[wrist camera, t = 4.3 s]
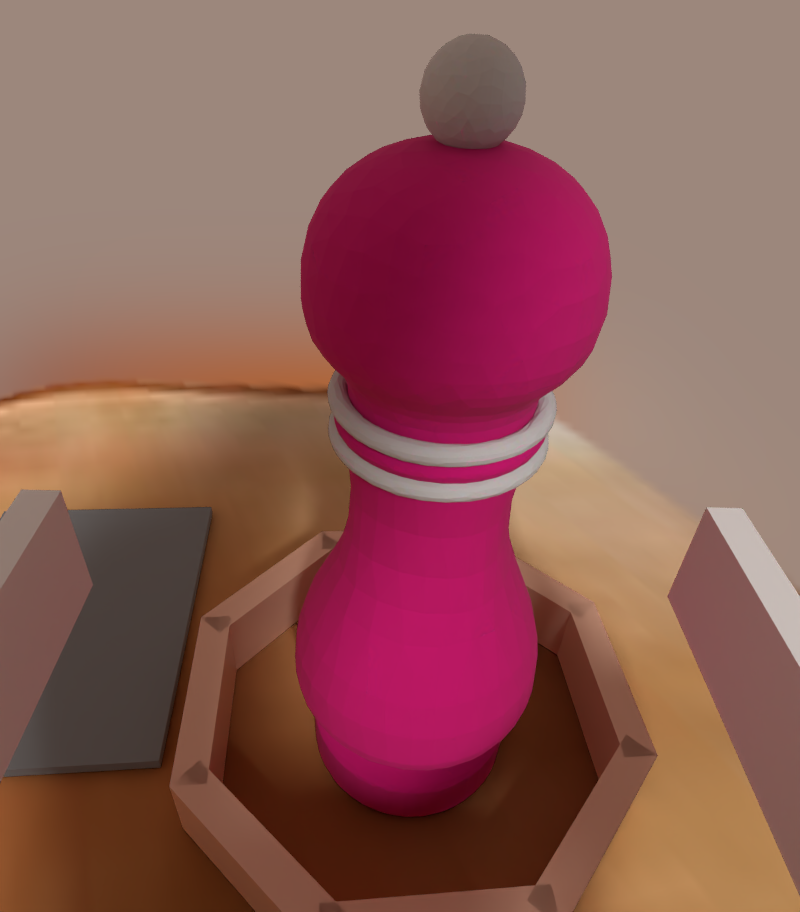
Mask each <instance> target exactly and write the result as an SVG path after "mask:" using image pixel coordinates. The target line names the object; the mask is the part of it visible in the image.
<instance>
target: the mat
mask: <svg viewBox="0 0 800 912" xmlns="http://www.w3.org/2000/svg"><path fill="white" fill-rule="evenodd" d="M5 513H6V512H4V513H3V515H2V517H3V516H4V514H5ZM68 513H69V516H70V519H71V522H72V525H73V528H74V531H75V534H76V537H77V540H78V542H79V545H80V548H81V551H82V554H83V557H84V560H85V563H86V566H87V569H88V572H89V575H90V577H91V580H92V583H93V586H92V588H91V590H90V592H89V594H88V597H87V599H86V601H85V603H84V605H83V607H82V609H81V612H80V614H79V616H78V618H77V620H76V622H75V624H74V626H73V629H72V631H71V633H70V635H69V637H68V639H67V641H66V644H65V646H64V648H63V650H62V652H61V654H60V656H59V658H58V661H57V663H56V665H55V667H54V669H53V671H52V673H51V676H50V678H49V680H48V682H47V684H46V686H45V688H44V691H43V693H42V695H41V697H40V699H39V701H38V703H37V705H36V708H35V710H34V712H33V714H32V716H31V718H30V720H29V723H28V725H27V727H26V729H25V731H24V733H23V735H22V737H21V740H20V742H19V744H18V746H17V748H16V750H15V752H14V755H13V757H12V759H11V761H10V763H9V765H8V767H7V770H6V772H5V774H4V776H3V777H10V776H26V775H43V774H59V773H76V772H93V771H109V770H126V769H142V768H159V767H161V764H162V759H163V754H164V750H165V745H166V740H167V735H168V730H169V725H170V720H171V715H172V710H173V705H174V700H175V695H176V690H177V686H178V681H179V676H180V671H181V666H182V661H183V656H184V651H185V646H186V641H187V636H188V631H189V626H190V622H191V617H192V612H193V607H194V602H195V597H196V592H197V587H198V582H199V577H200V572H201V567H202V563H203V558H204V553H205V548H206V543H207V538H208V533H209V528H210V523H211V518H212V508H211V507H192V508H145V509H99V510H68ZM2 517H1V518H0V520H1V519H2Z"/></svg>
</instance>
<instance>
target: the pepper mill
mask: <svg viewBox="0 0 800 912" xmlns="http://www.w3.org/2000/svg"><path fill="white" fill-rule="evenodd" d="M525 90H526V81H525V78H524V74H523V70H522V66H521V64H520V62H519V60H518V59H517V57H516V56H515V54H514V53H513V52H512V51H511V50H510V49H509V47H508V46H507V45H506V44H504V43H503V42H501V41H499V40H497V39H495V38H493V37H491V36H490V35H480V34H466V35H462V36H459V37H457V38H455V39H453V40H451V41H449V42H448V43H446V44H445V45H444V46H442V47H441V48H440V49H439V50H438V51H437V52H436V54H435V55H434V56H433V57H432V59H431V60H430V62H429V63H428V65H427V67H426V69H425V71H424V75H423V79H422V83H421V87H420V109H421V112H422V115H423V118H424V121H425V124H426V126H427V128H428V130H429V131H430V132H431V134H432V135H427V136H422V137H416V138H411V139H406V140H403V141H399V142H397V143H393V144H390V145H387V146H384V147H382V148H380V149H378V150H376V151H374V152H372V153H370V154H368V155H367V156H365V157H364V158H362V159H361V160H359V161H358V162H356V163H355V164H354V165H352V166H351V167H349V168H348V169H346V170H345V171H344V173H343V174H342V175H341V176H340V177H339V178H338V179H337V180H336V181H335V182H334V183H333V185H332V186H331V187H330V188H329V189H328V191H327V192H326V193H325V195H324V196H323V197H322V199H321V200H320V202H319V205H318V207H317V209H316V211H315V213H314V215H313V217H312V219H311V222H310V223H309V226H308V230H307V235H306V239H305V244H304V249H303V253H302V257H301V301H302V308H303V313H304V317H305V320H306V324H307V327H308V330H309V332H310V336H311V338H312V341H313V342H314V344H315V345H316V346H317V348H318V349H319V350H320V352H321V354H322V355H323V356H324V358H325V359H326V360H327V361H328V362H329V363H330V364H331V366H332V367H333V368H334V369H335V372H334V373H333V375H332V378H331V380H330V382H329V385H328V392H327V393H328V402H329V405H330V408H331V411H332V412H331V415H330V417H329V427H328V432H329V438H330V441H331V444H332V447H333V449H334V451H335V453H336V454H337V456H338V457H339V458H340V460H341V461H342V462H343V463H344V464H345V465H346V466H347V467H348V468H349V471H350V481H351V492H350V505H349V517H348V520H347V523H346V526H345V529H344V532H343V534H342V535H341V537H340V539H339V541H338V542H337V544H336V545H335V547H334V548H333V550H332V551H331V553H330V554H329V555H328V557H327V558H326V560H325V561H324V563H323V564H322V566H321V567H320V569H319V570H318V572H317V573H316V575H315V576H314V579H313V581H312V583H311V586H310V588H309V590H308V593H307V596H306V598H305V601H304V604H303V607H302V610H301V612H300V615H299V620H298V627H297V636H296V653H295V659H296V672H297V676H298V680H299V684H300V688H301V691H302V693H303V696H304V698H305V701H306V704H307V706H308V708H309V709H310V711H311V712H312V714H313V715H314V717H315V725H316V738H317V743H318V748H319V752H320V755H321V758H322V760H323V762H324V764H325V766H326V768H327V769H328V771H329V772H330V774H331V775H332V777H333V778H334V780H335V781H336V783H337V784H338V785H339V786H340V787H341V788H342V789H343V790H344V791H345V792H347V793H348V794H349V795H350V796H351V797H352V798H354V799H356V800H357V801H359V802H360V803H362V804H363V805H365V806H367V807H370V808H372V809H374V810H377V811H380V812H383V813H386V814H391V815H397V816H404V817H415V816H426V815H430V814H435V813H439V812H443V811H445V810H447V809H450V808H452V807H454V806H456V805H458V804H459V803H461V802H463V801H464V800H465V799H467V798H468V797H469V796H470V795H472V794H473V793H474V792H475V791H476V790H477V789H478V788H479V787H480V786H481V784H482V783H483V782H484V781H485V779H486V778H487V776H488V775H489V773H490V771H491V769H492V767H493V765H494V763H495V759H496V756H497V752H498V749H499V745H500V741H502V740H503V738H504V737H505V736H506V735H507V734H508V733H509V732H510V731H511V730H512V729H513V727H514V726H515V725H516V723H517V721H518V720H519V718H520V716H521V715H522V713H523V711H524V710H525V708H526V706H527V703H528V700H529V698H530V695H531V693H532V688H533V682H534V676H535V669H536V662H537V656H538V649H537V632H536V626H535V620H534V614H533V608H532V603H531V598H530V596H529V593H528V590H527V588H526V585H525V582H524V579H523V577H522V574H521V571H520V569H519V566H518V563H517V561H516V558H515V555H514V551H513V548H512V545H511V541H510V537H509V528H508V527H509V519H510V511H511V503H512V498H513V495H514V492H515V490H516V487H518V486H520V485H521V484H523V483H524V482H526V481H527V480H529V479H530V478H531V477H532V476H533V475H534V474H535V473H536V472H537V471H538V469H539V468H540V466H541V465H542V463H543V462H544V460H545V457H546V454H547V451H548V432H549V431H550V429H551V428H552V426H553V422H554V419H555V416H556V411H557V410H556V400H555V396H554V393H553V390H554V389H556V388H557V387H559V386H560V385H562V384H563V383H564V382H565V381H566V380H567V379H568V378H569V377H570V376H571V375H573V374H574V373H575V372H576V371H577V370H578V369H579V368H580V367H581V366H582V365H583V364H584V362H585V361H586V359H587V358H588V356H589V355H590V354H591V352H592V350H593V348H594V346H595V343H596V341H597V338H598V336H599V333H600V331H601V328H602V326H603V323H604V321H605V318H606V316H607V310H608V302H609V295H610V287H611V279H612V272H611V258H610V250H609V243H608V236H607V233H606V230H605V228H604V225H603V222H602V220H601V217H600V214H599V212H598V209H597V208H596V206H595V205H594V203H593V202H592V200H591V199H590V197H589V196H588V195H587V193H586V192H585V191H584V189H583V188H582V187H581V185H580V184H579V183H578V182H577V181H576V180H575V178H574V177H573V176H571V175H570V174H569V173H567V172H566V171H565V170H564V169H563V168H562V167H560V166H559V165H558V164H557V163H555V162H554V161H552V160H550V159H548V158H546V157H544V156H543V155H541V154H539V153H537V152H535V151H533V150H531V149H529V148H526V147H523V146H520V145H517V144H514V143H511V142H508V141H505V139H506V138H507V137H508V136H509V134H511V132H512V131H513V130H514V129H515V128H516V126H517V124H518V122H519V120H520V118H521V116H522V113H523V109H524V105H525V92H526V91H525Z"/></svg>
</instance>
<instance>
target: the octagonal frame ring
mask: <svg viewBox="0 0 800 912" xmlns="http://www.w3.org/2000/svg"><path fill="white" fill-rule="evenodd" d="M343 532H344V531H321V532H320V533H319V534H317V535H316V536H314V537H313V538H312V539H310V540H309V541H307V542H306V543H305V544H303V545H302V546H300V547H299V548H298V549H296V550H295V551H293V552H292V553H291V554H289V555H288V556H286V557H285V558H284V559H282V560H281V561H279V562H278V563H277V564H275V565H274V566H272V567H271V568H270V569H268V570H267V571H265V572H264V573H262V574H261V575H260V576H258V577H257V578H255V579H254V580H253V581H251V582H250V583H248V584H247V585H246V586H244V587H243V588H241V589H240V590H239V591H237V592H236V593H234V594H233V595H232V596H230V597H229V598H227V599H226V600H225V601H223V602H222V603H220V604H219V605H218V606H216V607H215V608H213V609H212V610H210V611H209V612H208V613H206V614H205V615H203V616H202V617H201V621H200V626H199V631H198V637H197V642H196V647H195V653H194V658H193V663H192V668H191V674H190V679H189V684H188V690H187V695H186V700H185V706H184V711H183V716H182V722H181V727H180V732H179V737H178V743H177V748H176V753H175V759H174V764H173V769H172V775H171V780H170V785H169V787H170V791H171V794H172V797H173V800H174V803H175V806H176V809H177V812H178V815H179V818H180V821H181V824H182V827H183V829H184V830H185V831H186V832H187V834H188V835H189V836H190V837H191V838H192V839H193V840H194V842H195V843H196V844H197V845H198V846H199V847H200V848H201V850H202V851H203V852H204V853H205V854H206V855H207V856H208V858H209V859H210V860H211V861H212V862H213V863H214V864H215V866H216V867H217V868H218V869H219V870H220V871H221V872H222V874H223V875H224V876H225V877H226V878H227V879H228V880H229V882H230V883H231V884H232V885H233V886H234V887H235V889H236V890H237V891H238V892H239V893H240V894H241V895H242V897H243V898H244V899H245V900H246V901H247V902H248V903H249V905H250V906H251V907H252V908H253V909H254V910H255V911H256V912H573V911H574V909H575V907H576V905H577V903H578V902H579V900H580V898H581V896H582V894H583V892H584V891H585V889H586V887H587V885H588V883H589V881H590V879H591V878H592V876H593V874H594V872H595V870H596V868H597V867H598V865H599V863H600V861H601V859H602V857H603V855H604V854H605V852H606V850H607V848H608V846H609V844H610V843H611V841H612V839H613V837H614V835H615V833H616V831H617V830H618V828H619V826H620V824H621V822H622V820H623V819H624V817H625V815H626V813H627V811H628V809H629V808H630V806H631V804H632V802H633V800H634V798H635V796H636V795H637V793H638V791H639V789H640V787H641V785H642V784H643V782H644V780H645V778H646V776H647V774H648V772H649V771H650V769H651V767H652V765H653V763H654V761H655V760H656V758H657V756H658V755H657V753H656V751H655V748H654V746H653V743H652V741H651V738H650V736H649V734H648V731H647V729H646V726H645V724H644V722H643V719H642V717H641V714H640V712H639V710H638V707H637V705H636V702H635V700H634V697H633V695H632V693H631V690H630V688H629V685H628V683H627V681H626V678H625V676H624V673H623V671H622V669H621V666H620V664H619V661H618V659H617V656H616V654H615V652H614V649H613V647H612V644H611V642H610V640H609V637H608V635H607V632H606V630H605V627H604V625H603V623H602V620H601V618H600V615H599V613H598V611H597V608H596V606H595V603H594V602H593V601H591V600H589V599H588V598H586V597H584V596H582V595H581V594H579V593H577V592H576V591H574V590H572V589H570V588H569V587H567V586H565V585H563V584H562V583H560V582H558V581H556V580H555V579H553V578H551V577H550V576H548V575H546V574H544V573H543V572H541V571H539V570H537V569H536V568H534V567H532V566H530V565H529V564H527V563H525V562H524V561H522V560H520V559H518V558H517V557H515V558H516V561H517V563H518V566H519V569H520V571H521V574H522V577H523V579H524V582H525V585H526V588H527V590H528V593H529V596H530V598H531V603H532V608H533V614H534V620H535V626H536V632H537V642H538V643H539V644H541V645H542V646H544V647H546V648H547V649H549V650H550V651H552V652H553V653H555V654H557V655H558V659H559V662H560V665H561V668H562V671H563V674H564V677H565V680H566V683H567V686H568V689H569V692H570V695H571V698H572V701H573V704H574V707H575V710H576V713H577V716H578V719H579V722H580V725H581V728H582V731H583V734H584V737H585V740H586V743H587V746H588V749H589V752H590V755H591V758H592V761H593V764H594V767H595V770H596V773H597V776H598V779H599V780H598V782H597V784H596V785H595V787H594V789H593V790H592V792H591V794H590V795H589V797H588V799H587V800H586V802H585V804H584V805H583V807H582V809H581V810H580V812H579V814H578V815H577V817H576V819H575V820H574V822H573V824H572V825H571V827H570V829H569V830H568V832H567V834H566V835H565V837H564V839H563V840H562V842H561V844H560V845H559V847H558V849H557V850H556V852H555V854H554V855H553V857H552V859H551V860H550V862H549V864H548V865H547V867H546V868H545V870H544V872H543V873H542V875H541V877H540V878H539V880H538V882H537V883H536V885H532V886H520V887H508V888H496V889H484V890H472V891H460V892H448V893H435V894H423V895H411V896H399V897H387V898H375V899H363V900H351V901H339V902H336V901H335V900H334V899H333V898H332V897H331V896H330V895H329V894H328V893H327V892H326V891H325V890H324V889H323V888H322V887H321V886H320V885H319V883H318V882H317V881H316V880H315V879H314V878H313V877H312V876H311V875H310V874H309V873H308V872H307V871H306V870H305V869H304V868H303V867H302V866H301V865H300V864H299V863H298V862H297V861H296V860H295V859H294V857H293V856H292V855H291V854H290V853H289V852H288V851H287V850H286V849H285V848H284V847H283V846H282V845H281V844H280V843H279V842H278V841H277V840H276V839H275V838H274V837H273V836H272V835H271V834H270V833H269V831H268V830H267V829H266V828H265V827H264V826H263V825H262V824H261V823H260V822H259V821H258V820H257V819H256V818H255V817H254V816H253V815H252V814H251V813H250V812H249V811H248V810H247V809H246V808H245V807H244V805H243V804H242V803H241V802H240V801H239V800H238V799H237V798H236V797H235V796H234V795H233V794H232V793H231V792H230V791H229V790H228V789H227V788H226V787H225V786H224V785H223V776H224V768H225V760H226V752H227V744H228V736H229V728H230V720H231V712H232V704H233V696H234V688H235V680H236V672H237V669H238V668H240V667H241V666H242V665H243V664H245V663H246V662H247V661H248V660H250V659H251V658H252V657H253V656H255V655H256V654H257V653H258V652H260V651H261V650H262V649H263V648H265V647H266V646H267V645H268V644H269V643H271V642H272V641H273V640H274V639H276V638H277V637H278V636H279V635H281V634H282V633H283V632H284V631H286V630H287V629H288V628H289V627H291V626H292V625H293V624H294V623H296V622H297V621H298V620H299V615H300V612H301V610H302V607H303V604H304V601H305V598H306V596H307V593H308V590H309V588H310V586H311V583H312V581H313V579H314V576H315V575H316V573H317V572H318V570H319V569H320V567H321V566H322V564H323V563H324V561H325V560H326V558H327V557H328V555H329V554H330V553H331V551H332V550H333V548H334V547H335V545H336V544H337V542H338V541H339V539H340V537H341V535H342V534H343Z"/></svg>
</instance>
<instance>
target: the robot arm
mask: <svg viewBox="0 0 800 912" xmlns="http://www.w3.org/2000/svg"><path fill="white" fill-rule="evenodd" d="M92 586H93V583H92V580H91V577H90V575H89V572H88V569H87V566H86V563H85V560H84V557H83V554H82V551H81V548H80V545H79V542H78V540H77V537H76V534H75V531H74V528H73V525H72V522H71V519H70V516H69V513H68V510H67V507H66V504H65V502H64V499H63V496H62V493H61V491H54V490H21V491H20V492H19V494H18V495H17V497H16V498H15V500H14V501H13V503H12V504H11V506H10V507H9V508H8V510H7V511H6V513H5V514H4V516H3V517H2V519H1V520H0V782H1V780H2V778H3V776H4V774H5V772H6V770H7V767H8V765H9V763H10V761H11V759H12V757H13V755H14V752H15V750H16V748H17V746H18V744H19V742H20V740H21V737H22V735H23V733H24V731H25V729H26V727H27V725H28V723H29V720H30V718H31V716H32V714H33V712H34V710H35V708H36V705H37V703H38V701H39V699H40V697H41V695H42V693H43V691H44V688H45V686H46V684H47V682H48V680H49V678H50V676H51V673H52V671H53V669H54V667H55V665H56V663H57V661H58V658H59V656H60V654H61V652H62V650H63V648H64V646H65V644H66V641H67V639H68V637H69V635H70V633H71V631H72V629H73V626H74V624H75V622H76V620H77V618H78V616H79V614H80V612H81V609H82V607H83V605H84V603H85V601H86V599H87V597H88V594H89V592H90V590H91V588H92ZM668 598H669V601H670V603H671V605H672V607H673V610H674V612H675V614H676V616H677V619H678V621H679V623H680V626H681V628H682V630H683V632H684V635H685V637H686V639H687V641H688V644H689V646H690V648H691V650H692V653H693V655H694V657H695V660H696V662H697V664H698V666H699V669H700V671H701V673H702V675H703V678H704V680H705V682H706V685H707V687H708V689H709V691H710V694H711V696H712V698H713V700H714V703H715V705H716V707H717V709H718V712H719V714H720V716H721V719H722V721H723V723H724V725H725V728H726V730H727V732H728V734H729V737H730V739H731V741H732V743H733V746H734V748H735V750H736V753H737V755H738V757H739V759H740V762H741V764H742V766H743V768H744V771H745V773H746V775H747V777H748V780H749V782H750V784H751V787H752V789H753V791H754V793H755V796H756V798H757V800H758V802H759V805H760V807H761V809H762V811H763V814H764V816H765V818H766V821H767V823H768V825H769V827H770V830H771V832H772V834H773V836H774V839H775V841H776V843H777V845H778V848H779V850H780V852H781V855H782V857H783V859H784V861H785V864H786V866H787V868H788V870H789V873H790V875H791V877H792V879H793V882H794V884H795V886H796V889H797V891H798V893H799V895H800V596H799V594H798V593H797V591H796V590H795V588H794V587H793V585H792V584H791V582H790V581H789V579H788V578H787V576H786V574H785V573H784V571H783V570H782V568H781V567H780V565H779V564H778V562H777V561H776V559H775V558H774V556H773V555H772V553H771V551H770V550H769V548H768V547H767V545H766V544H765V542H764V541H763V539H762V537H761V536H760V534H759V533H758V531H757V530H756V528H755V527H754V525H753V524H752V522H751V520H750V519H749V518H748V516H747V514H746V513H745V511H744V510H743V508H711V507H707V508H706V510H705V512H704V514H703V517H702V519H701V521H700V524H699V526H698V528H697V530H696V533H695V535H694V537H693V539H692V542H691V544H690V546H689V549H688V551H687V553H686V555H685V558H684V560H683V562H682V565H681V567H680V569H679V571H678V574H677V576H676V578H675V580H674V583H673V585H672V587H671V590H670V592H669V594H668Z"/></svg>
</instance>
